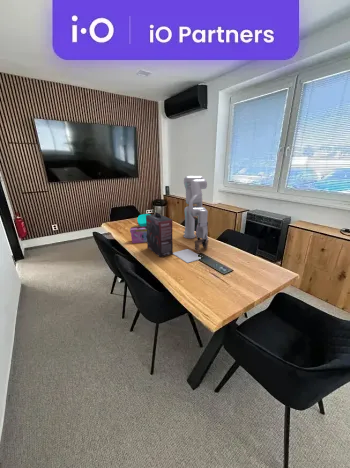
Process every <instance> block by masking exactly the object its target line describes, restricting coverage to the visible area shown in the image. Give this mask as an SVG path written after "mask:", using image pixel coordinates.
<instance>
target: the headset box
mask: <svg viewBox="0 0 350 468" xmlns="http://www.w3.org/2000/svg"><path fill="white" fill-rule="evenodd" d="M146 226H147V242H146V245H147V249H148V250H150V251H151V252H153V254H154V255H155V254H156V255H157V256H158V257H159V258H163V257H167V256H171V255H174V254H173V253H174V252H173V251H174V250H173V248H174V247H173V219H172V218H169V217H167V216H165V215H162V214H160V213H158V212H155V211H154V214H151V215H146Z"/></svg>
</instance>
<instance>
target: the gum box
mask: <svg viewBox="0 0 350 468" xmlns="http://www.w3.org/2000/svg"><path fill="white" fill-rule="evenodd" d="M129 233H130V238H131V243H132V244H140V243H147V226H144V227H141V226H132V227H130V229H129Z"/></svg>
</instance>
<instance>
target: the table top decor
mask: <svg viewBox="0 0 350 468" xmlns="http://www.w3.org/2000/svg"><path fill="white" fill-rule="evenodd" d="M146 215H152V214H150V213H143V214H139V215H138V217H137V218H136V219H137V224H138V225H139V227H144V226H146Z"/></svg>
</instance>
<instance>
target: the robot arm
mask: <svg viewBox="0 0 350 468" xmlns="http://www.w3.org/2000/svg"><path fill="white" fill-rule="evenodd" d="M183 184H184V188H185V203H186V204H187V206H186V207H184V209H183V210H184V219H185V220H184V231H182V232H183V235H182V236H183V237H184V238H185V239H195V238H196V240H199V239H203V242H202V244H201V246H202V247H203V246H205V243H206V241H207V240H209V236H208V215H209V214H208V213H209V211H208V209H206V207H204V206H203V192H202V190H205V189H207V187H208V181H207V179H206V178H205V177H204V176H202V175H186V176H185V177H184V178H183ZM195 217H197V225H196V227H195V223H196V222H195V221H196V219H195ZM195 228H196V229H195ZM204 239H205V240H204Z"/></svg>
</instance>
